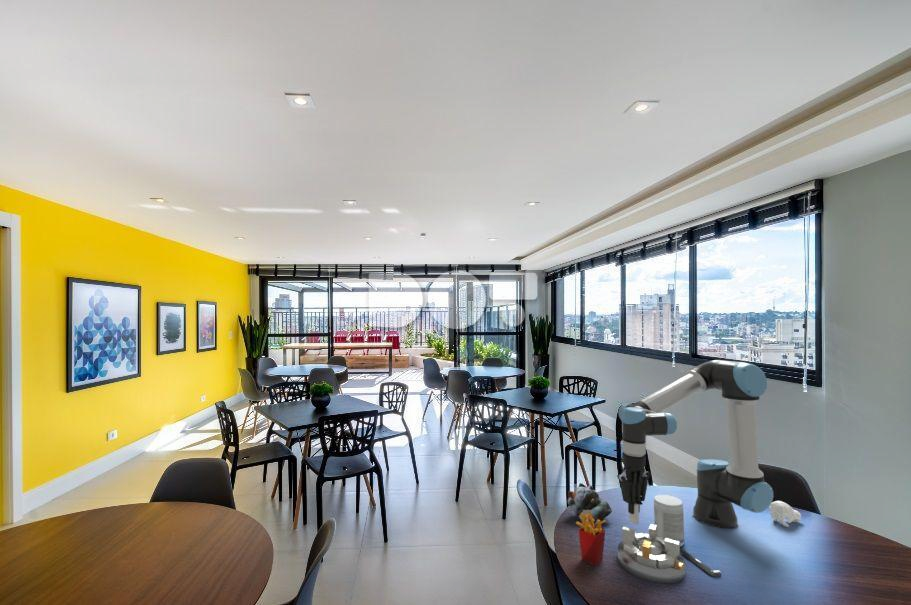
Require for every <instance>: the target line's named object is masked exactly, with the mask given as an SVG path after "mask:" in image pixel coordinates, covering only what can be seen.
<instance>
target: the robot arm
mask: <svg viewBox="0 0 911 605" xmlns="http://www.w3.org/2000/svg"><path fill="white" fill-rule="evenodd" d="M767 387H768V380H767V377H766V374H765V372H764V371H763V369H761V368H760V367H759V366H757V365H755V364H752V363H748V362H742V361H731V360H724V359H723V360H721V359H714V360H709V361H706V362H703V363H701V364H699V365H698V364H697V365H696V366H694V367H692V368H690V369H688V370H687V371H685V373H684V376H682V377H679V378H678V379H675V381H673V382H671V383H669V384H668V385H666V386H663V387H662V388H660V389H658V390H656V391H654V392H653V393H650V394H649V395H648V396H646V397H643V398H642V399H640V400H639V401H637V402H635V403H633V404H632V403H623V404H622V405H621V406H619V409H618V418H619V419H620V421H621V431H622V432H621V433H622V434H621V435H622V436H621V437H622V438H621V440H622V444H621V445H622V447H621V449H622V452H621V458H622V459H621V462H622V465H623V469H622V473H621V474H619V473H618V474H617V476H616V477H617V479H618V481H619V486H620V490H621V495H622V500H623V502H625V503H626V504H627V505H628V506H627V509H628V510H627V511H628V513H629V516H628V517H629V520H628V521H629V522H630V523H632V524H633V525H639V524H640V523H639V522H640V518H639V516H640V515H639V514H640V512H641V511H640V510H641V506H642V505H643V502H645V499H646V495H647V494H646V493H647V489H648V483H649V479H650V477H651V473H650V472H649V471H646V468H645V467H646V465H647V462H646V461H647V459H646V458H647V456H646V454H647V449H646V448H647V446H646V444H647V441H646V440H647V437H648V436H667V435H673V434H675V432H676V431H677V428H678V421H677V418H676V417H675V416H674V415H673V414H672V413H669V412H665V411H666V410H668V409H670V408H672V407H674V406H676V405H677V404H679V403H680V402H682V401H684V400H685V399H686V400H687V399H688V398H689V397H691V396H693V395H695V394H696V393H704V392H706V391H708V390H720V391H721V398H723V400H725V401H726V405H727V406H726V407H727V424H728V425H727V426H728V442H729V444H728V445H729V462H728V461H725V460H721V459H711V458H710V459H709V458H708V459H706V458H705V459H701V460H699V461H698V462H697V468H696V479H697V480H696V481H697V483H696V484H697V497H696V500H695V504H694V506H693V508H692V513H693V517H694V518H695V519H697V521H699V522H702V523H703V524H707V525H709V526H711V527H717V528H720V529H721V528H723V529H727V528H728V529H730V528H735V527H737V526H738V515H737V514H736V511H735V507H734V506H733V504H734V505H736V506H738V507H740V508H742V509H744V510H747V511H750V512H752V513H756V514H758V513H763V512H765V511H766V510H767V509H769V506H770V504H771V503H772V502H773V499H774V490H773V487H772V486H771V485H770V484H769V483H767V482H765V475H764V472H763V471H762V470H761V469H760V468H759V460H758V459H759V457H758V438H757V423H756V422H757V420H756V407H755V406H756V403H758V402H759V401H760V396H762V395H764V393H765V392H766V391H765V390H767Z"/></svg>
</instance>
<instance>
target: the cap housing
mask: <svg viewBox="0 0 911 605" xmlns="http://www.w3.org/2000/svg"><path fill="white" fill-rule="evenodd" d="M644 540H645V541H649V542H651V555H655V556H656V555H664V554H666V553H665V552H663V551H662V546H661V545H660V544H659V543H657V542H655V541H653V540H648V539H642V540H640V541H639V545H636V546H635V547H636V548H637V549H638V550H639V551H641V552H642V545H643V543H644ZM623 542H624V540H623V539H622V541H620V542H619V543H618V545H617V560H618V562H619V564H620V566H622V567H623V569H625V570H626V571H627V572H629V573H630V574H632V575H633V576H636V577H638V578H640V579H643V580H645V581H649V582H653V583H658V584H674V583H678V582H680V581H682V580H683V579H684V577H685V576H686V562H685V561H686V560H685V559H684V557H683V556H682V555H681V553H680V554H679V556H678V559H677V564H676V566H675V567H670V568H662V569H659V568H658V567H656V568H653V567H650V566H646V565H643V564H640V563H637V561H634V560H633V559H632V558H630V557H629V556H628V555H627V554H626V553H625V552H624V550H623Z"/></svg>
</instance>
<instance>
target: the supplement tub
mask: <svg viewBox="0 0 911 605" xmlns="http://www.w3.org/2000/svg"><path fill="white" fill-rule="evenodd" d="M653 513H654V514H653V515H654V516H653V517H654V525H657V537H661V538H662V539H665V538H668V539H671V540H675V541H679V543H680V547H682V546H684V544H685V524H684V522H685V520H684V505H683V501H682V500H681V499H680V498H678V497H676V496H672V495H668V494H657V495H655V496H654V498H653Z"/></svg>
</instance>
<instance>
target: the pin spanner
mask: <svg viewBox="0 0 911 605" xmlns="http://www.w3.org/2000/svg"><path fill="white" fill-rule="evenodd" d="M680 552H681V553H680V554H682V555H683V556H684V557H685V558H687V559H689V561H690V562H692V563H693V564H695V565H696V566H697V567H699V568H700V569H701V570H703V571H704V572H706V573H707V574H708V575H710V576H711V577H722V571H721V570H719V569H715V570H713V569H711V568H710V567H709V566H707V565H706V564H705V563H704V562H702V561H700V560H699V559H698V558H696V557H695V556H693V555H692V554H691V553H690V552H688V551H687V550H686V549H681V550H680Z"/></svg>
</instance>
